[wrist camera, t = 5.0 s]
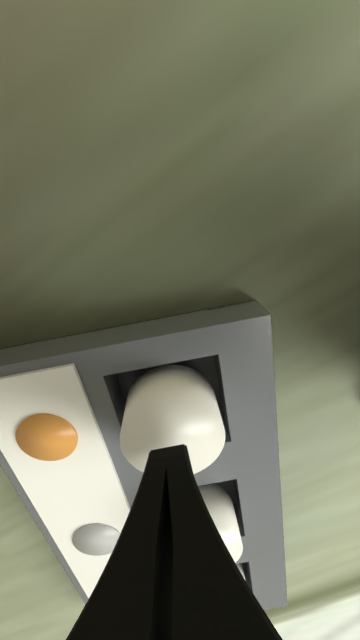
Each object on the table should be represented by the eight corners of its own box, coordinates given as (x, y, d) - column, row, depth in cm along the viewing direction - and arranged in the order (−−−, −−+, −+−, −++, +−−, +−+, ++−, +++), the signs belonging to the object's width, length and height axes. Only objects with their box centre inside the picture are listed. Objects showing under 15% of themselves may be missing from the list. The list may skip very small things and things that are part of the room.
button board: (255, 300, 13) (273, 317, 11) (277, 573, 22) (289, 611, 20) (-24, 353, 13) (-59, 381, 11) (110, 602, 23) (105, 643, 20)
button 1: (208, 356, 13) (218, 388, 10) (220, 428, 14) (230, 468, 12) (116, 374, 13) (106, 409, 10) (138, 443, 14) (134, 486, 12)
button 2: (228, 475, 16) (238, 519, 13) (235, 522, 17) (246, 568, 15) (153, 489, 16) (151, 534, 14) (168, 535, 17) (168, 582, 15)
